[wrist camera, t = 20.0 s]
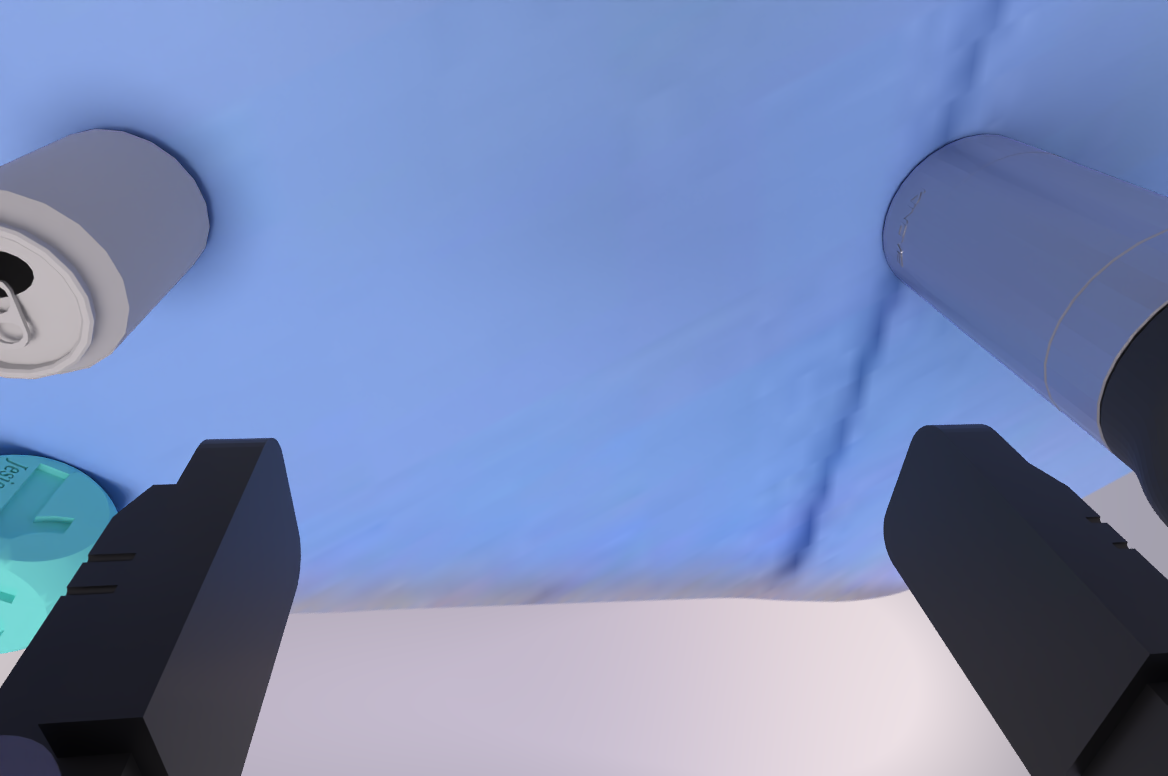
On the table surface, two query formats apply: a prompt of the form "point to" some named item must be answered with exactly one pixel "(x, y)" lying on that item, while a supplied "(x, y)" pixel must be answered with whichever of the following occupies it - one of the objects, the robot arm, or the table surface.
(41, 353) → the can
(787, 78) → the table surface
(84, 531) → the decorative dice
